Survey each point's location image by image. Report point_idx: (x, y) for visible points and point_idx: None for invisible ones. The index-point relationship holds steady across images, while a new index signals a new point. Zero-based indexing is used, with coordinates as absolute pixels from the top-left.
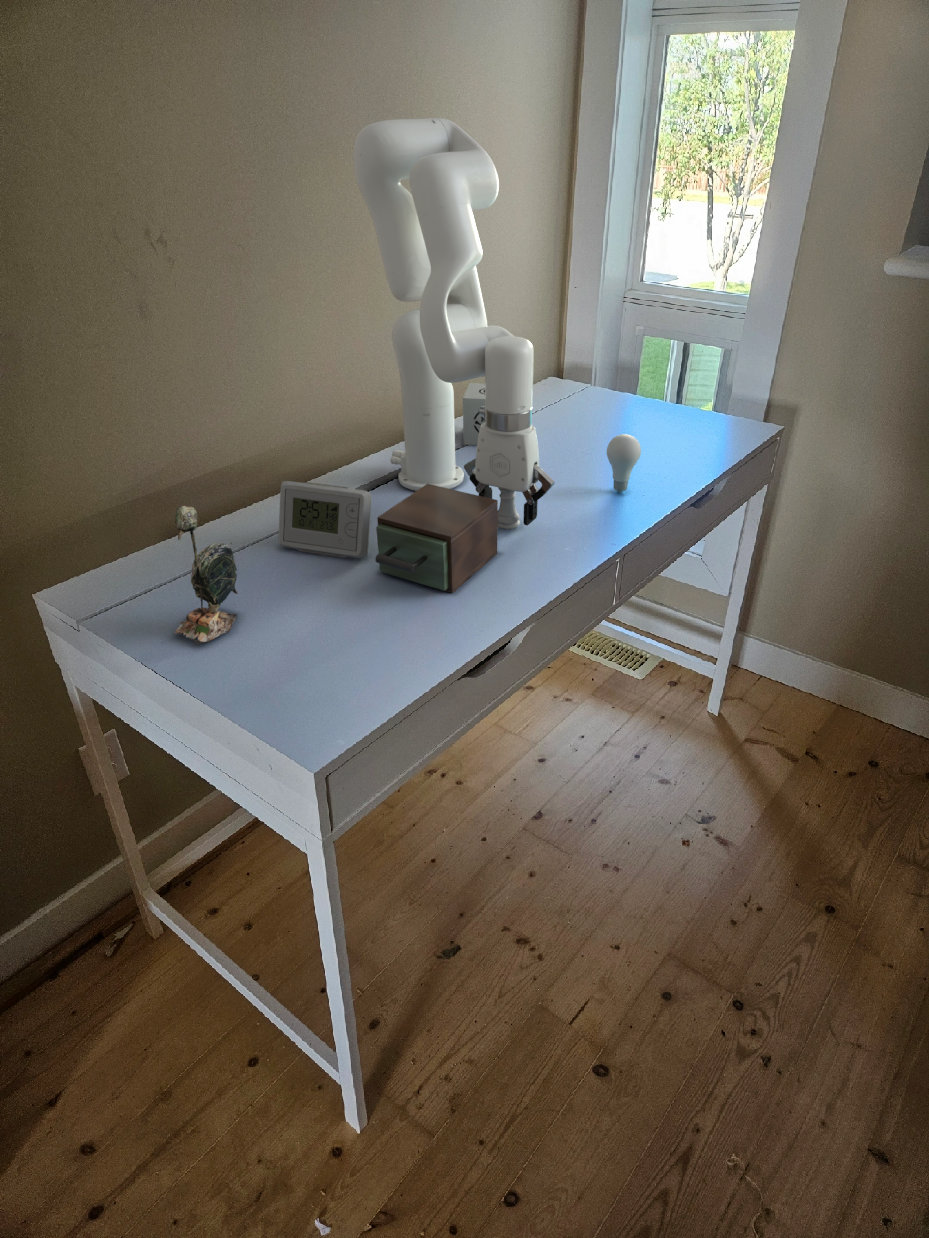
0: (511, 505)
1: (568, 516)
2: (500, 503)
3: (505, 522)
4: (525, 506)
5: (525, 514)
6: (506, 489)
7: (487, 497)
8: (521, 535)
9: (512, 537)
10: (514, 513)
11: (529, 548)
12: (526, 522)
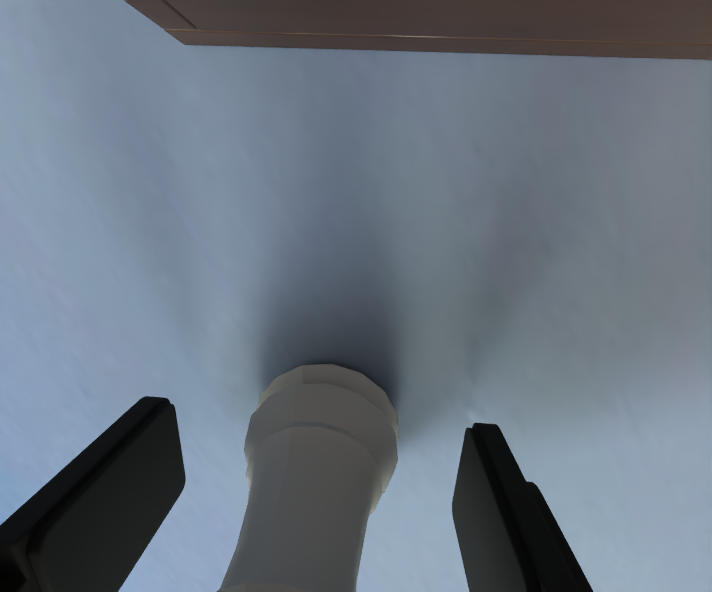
0: (243, 527)
1: None
2: (342, 528)
3: (293, 389)
4: (26, 519)
5: (96, 452)
6: None
7: (494, 580)
8: (201, 344)
9: (229, 304)
10: (251, 474)
11: (74, 223)
12: (134, 407)
